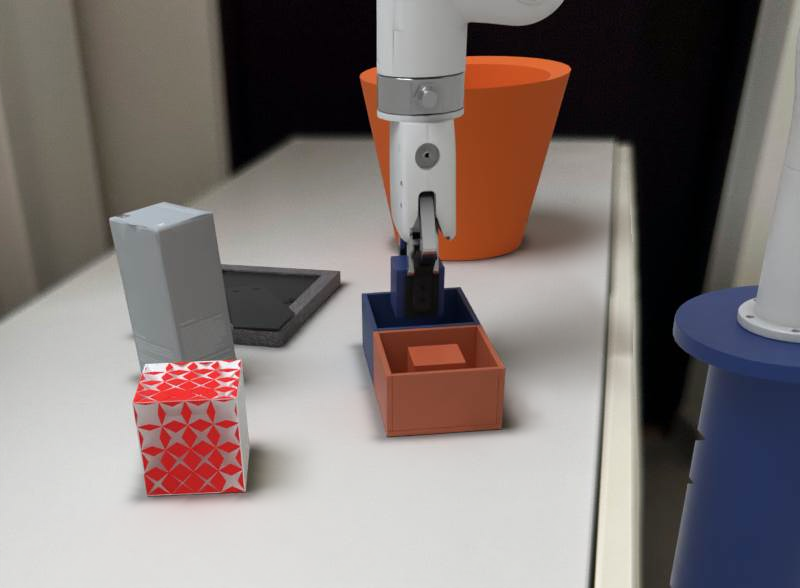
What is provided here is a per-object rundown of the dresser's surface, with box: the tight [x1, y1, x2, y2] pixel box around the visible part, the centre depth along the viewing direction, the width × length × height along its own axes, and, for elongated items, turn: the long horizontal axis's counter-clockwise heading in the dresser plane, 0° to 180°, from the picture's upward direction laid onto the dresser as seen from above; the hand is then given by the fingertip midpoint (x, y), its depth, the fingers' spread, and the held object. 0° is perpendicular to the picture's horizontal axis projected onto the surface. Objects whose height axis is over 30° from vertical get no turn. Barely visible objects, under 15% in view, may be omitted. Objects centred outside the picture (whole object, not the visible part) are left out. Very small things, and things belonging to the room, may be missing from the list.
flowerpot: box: [359, 55, 572, 261], centre depth 131 cm, size 25×25×20 cm
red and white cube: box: [132, 359, 251, 497], centre depth 85 cm, size 8×8×8 cm
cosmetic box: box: [108, 201, 237, 375], centre depth 99 cm, size 8×7×16 cm
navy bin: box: [361, 286, 482, 388], centre depth 103 cm, size 10×11×6 cm
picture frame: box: [221, 263, 342, 348], centre depth 119 cm, size 16×2×21 cm
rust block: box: [408, 344, 466, 373], centre depth 94 cm, size 4×4×4 cm
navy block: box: [390, 255, 446, 318], centre depth 100 cm, size 4×4×4 cm
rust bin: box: [373, 323, 506, 438], centre depth 94 cm, size 10×11×6 cm
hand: (416, 305), depth 101 cm, fingers closed on navy block, 4 cm apart
